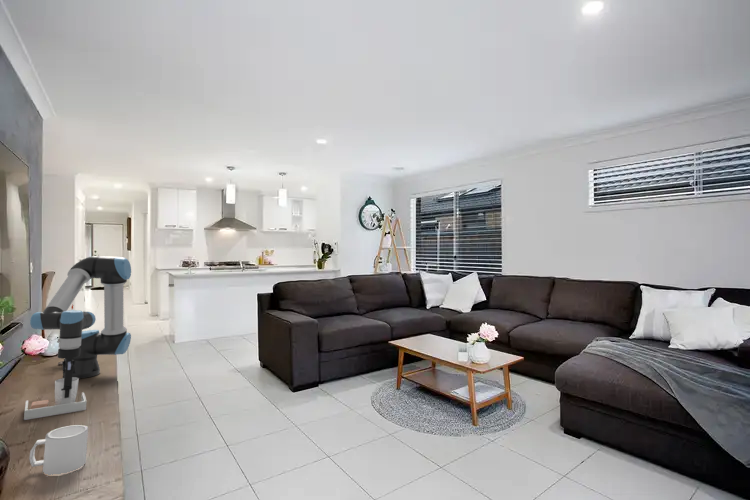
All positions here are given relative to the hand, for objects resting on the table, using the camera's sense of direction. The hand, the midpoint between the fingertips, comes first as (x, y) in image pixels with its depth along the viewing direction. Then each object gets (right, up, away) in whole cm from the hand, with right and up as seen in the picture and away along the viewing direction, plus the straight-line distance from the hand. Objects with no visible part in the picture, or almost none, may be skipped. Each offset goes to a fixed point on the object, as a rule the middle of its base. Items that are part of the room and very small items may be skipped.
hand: (65, 402), depth 163 cm
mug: (+35, -2, -46) cm, 58 cm away
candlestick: (-50, -3, +64) cm, 81 cm away
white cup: (0, -1, 0) cm, 1 cm away
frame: (-2, -2, -3) cm, 4 cm away
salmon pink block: (-5, -2, -6) cm, 9 cm away
